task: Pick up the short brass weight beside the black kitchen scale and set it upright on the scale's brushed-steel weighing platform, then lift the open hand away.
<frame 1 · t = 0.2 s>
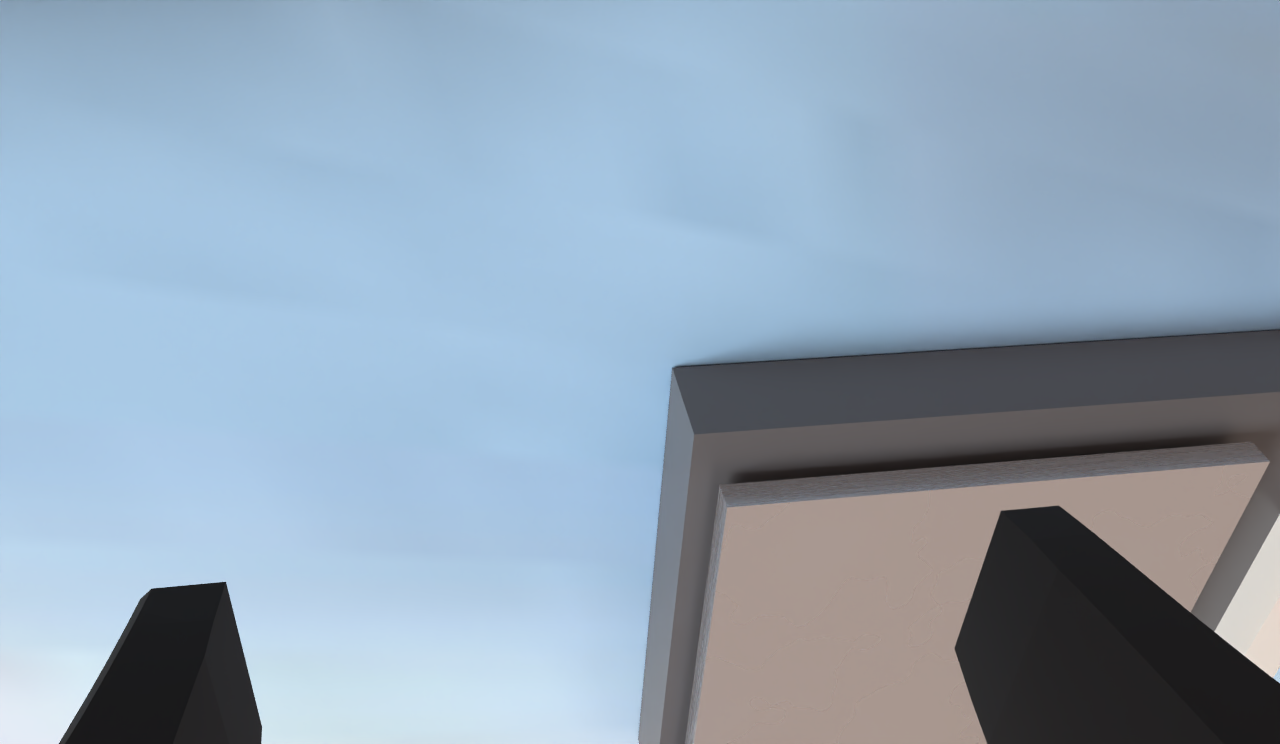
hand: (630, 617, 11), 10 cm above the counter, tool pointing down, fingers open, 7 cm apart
scale: (962, 550, 27), on the counter
weighing platform: (946, 643, 24), point 3 cm above the counter, slide at -0.3 cm
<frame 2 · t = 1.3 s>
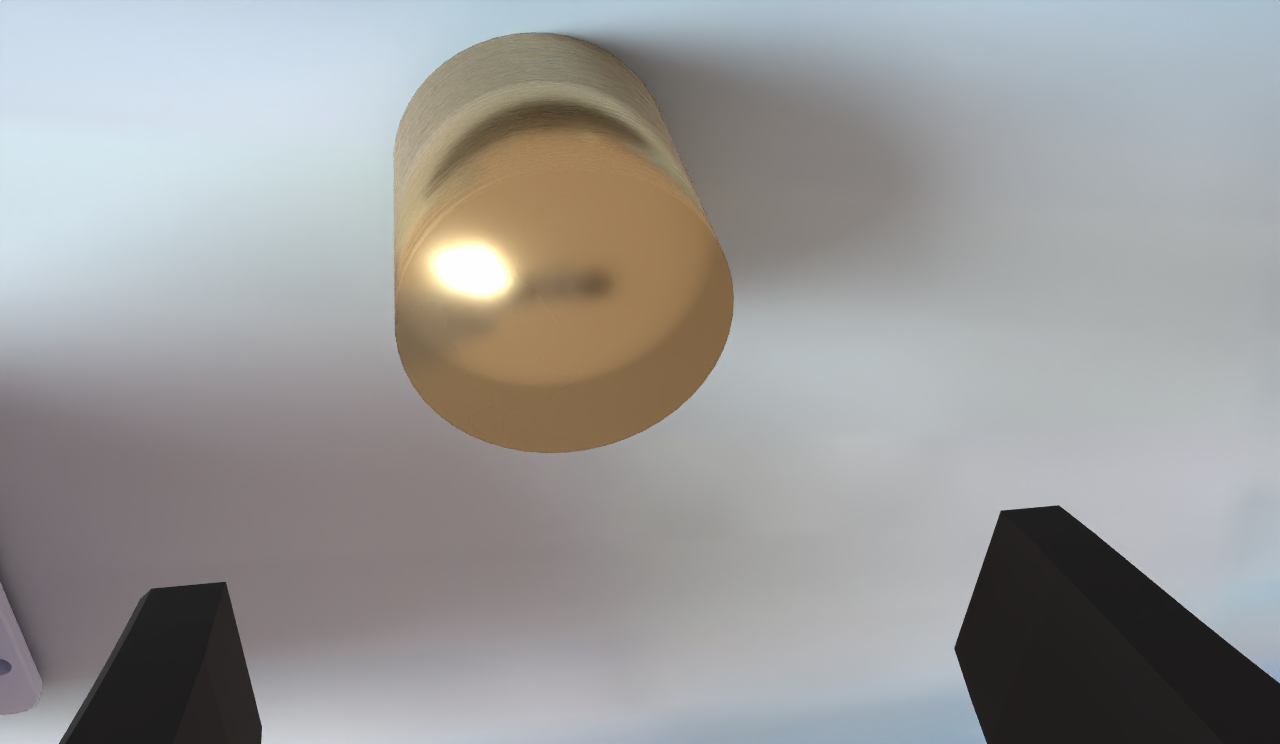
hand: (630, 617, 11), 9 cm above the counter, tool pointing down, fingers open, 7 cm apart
brass weight: (533, 166, 18), on the counter
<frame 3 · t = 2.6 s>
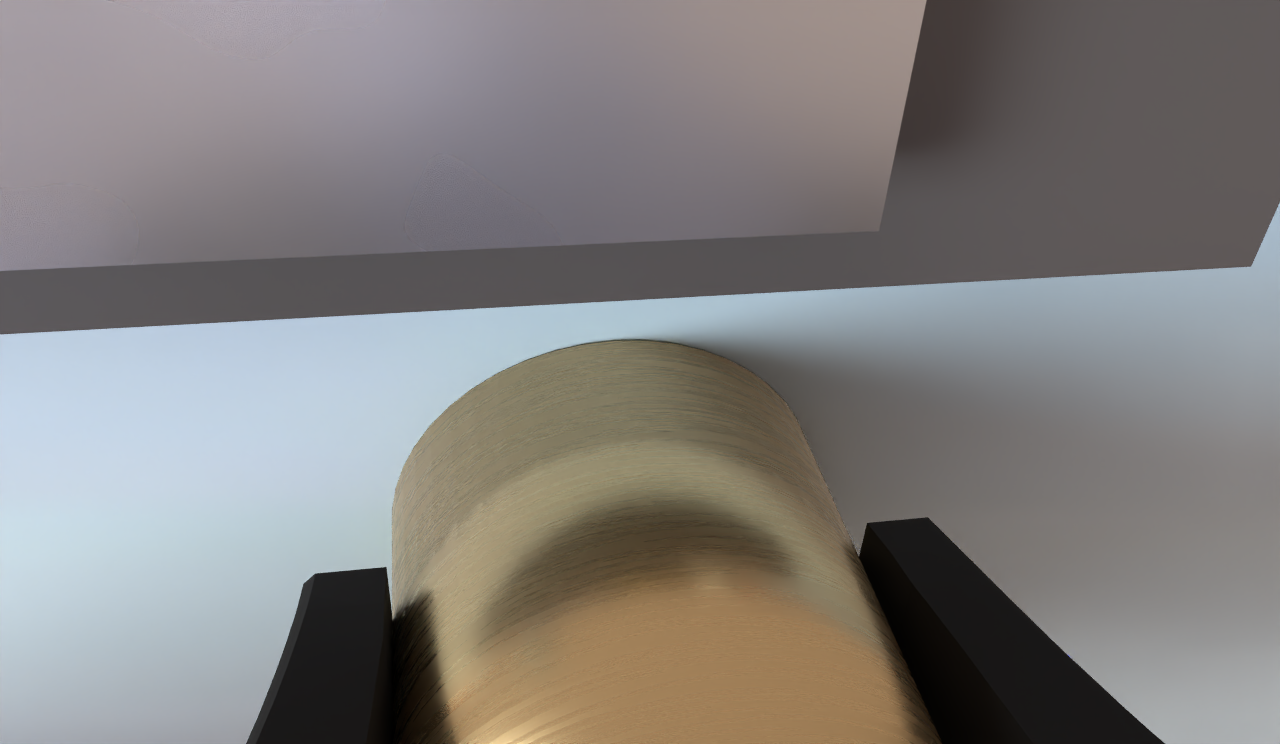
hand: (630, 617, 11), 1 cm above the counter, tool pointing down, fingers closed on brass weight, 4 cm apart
brass weight: (607, 512, 12), on the counter, touching gripper
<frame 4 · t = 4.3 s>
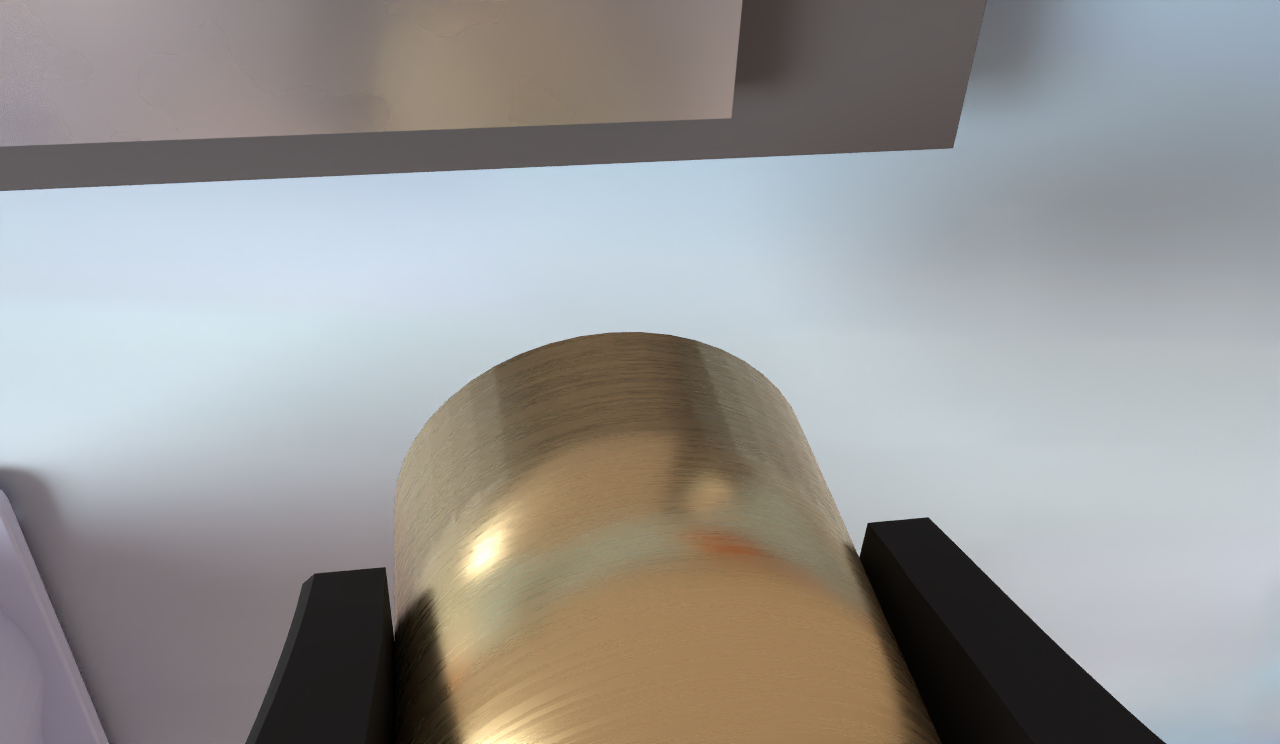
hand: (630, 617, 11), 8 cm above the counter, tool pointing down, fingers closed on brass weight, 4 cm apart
brass weight: (606, 502, 12), point 7 cm above the counter, touching gripper
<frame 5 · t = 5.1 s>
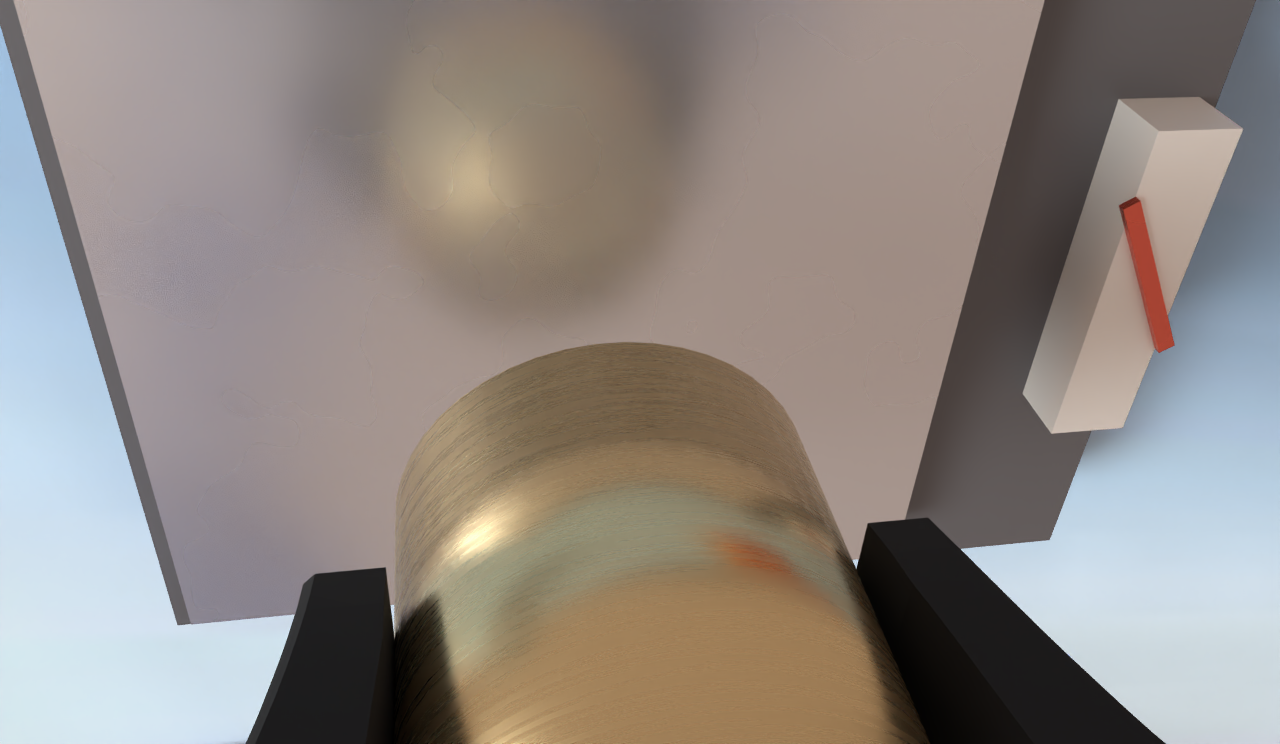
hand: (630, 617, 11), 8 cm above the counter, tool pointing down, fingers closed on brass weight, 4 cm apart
scale: (640, 209, 17), on the counter
weighing platform: (563, 310, 15), point 3 cm above the counter, slide at -0.3 cm
brass weight: (605, 509, 12), point 6 cm above the counter, touching gripper
when the fingers open (6 cm above the counter, at t = 5.9 s): brass weight drops 2 cm, resting on weighing platform.
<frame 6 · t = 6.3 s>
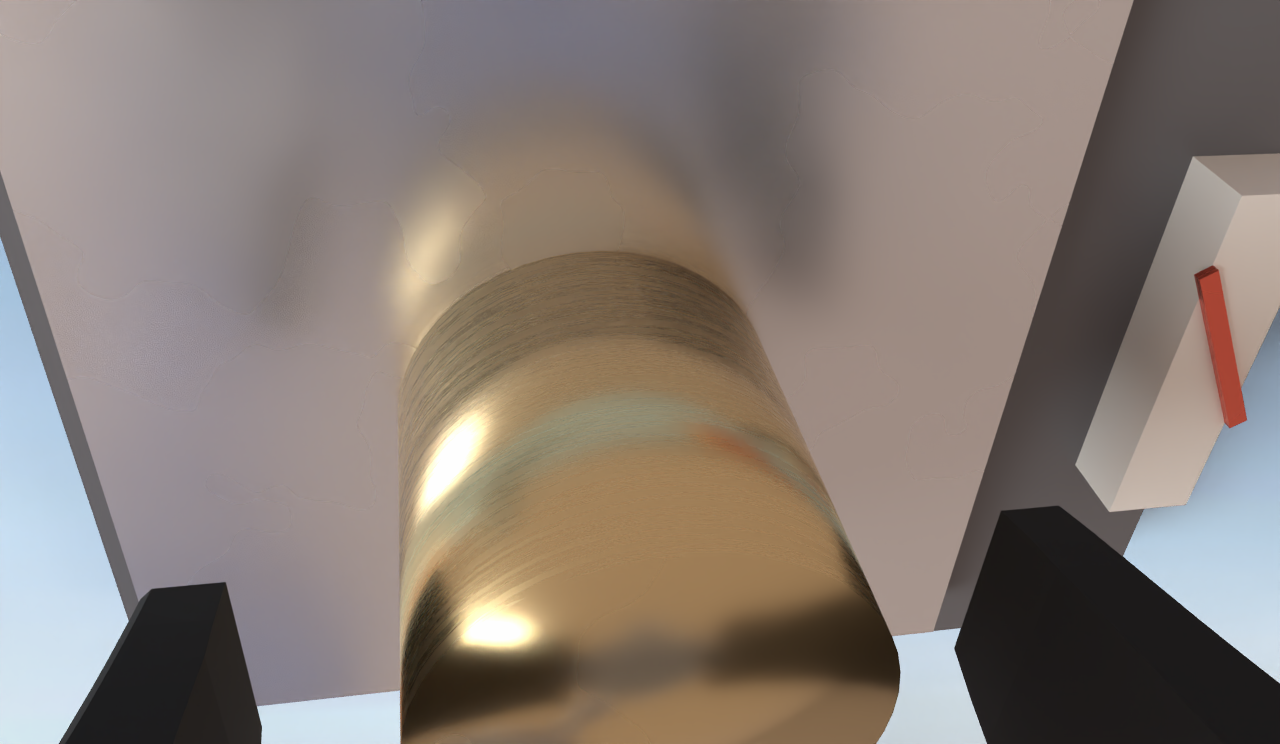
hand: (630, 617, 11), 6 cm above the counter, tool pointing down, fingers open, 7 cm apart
scale: (663, 269, 16), on the counter
weighing platform: (580, 384, 13), point 2 cm above the counter, slide at -0.4 cm, touching brass weight
brass weight: (587, 410, 13), point 3 cm above the counter, touching weighing platform
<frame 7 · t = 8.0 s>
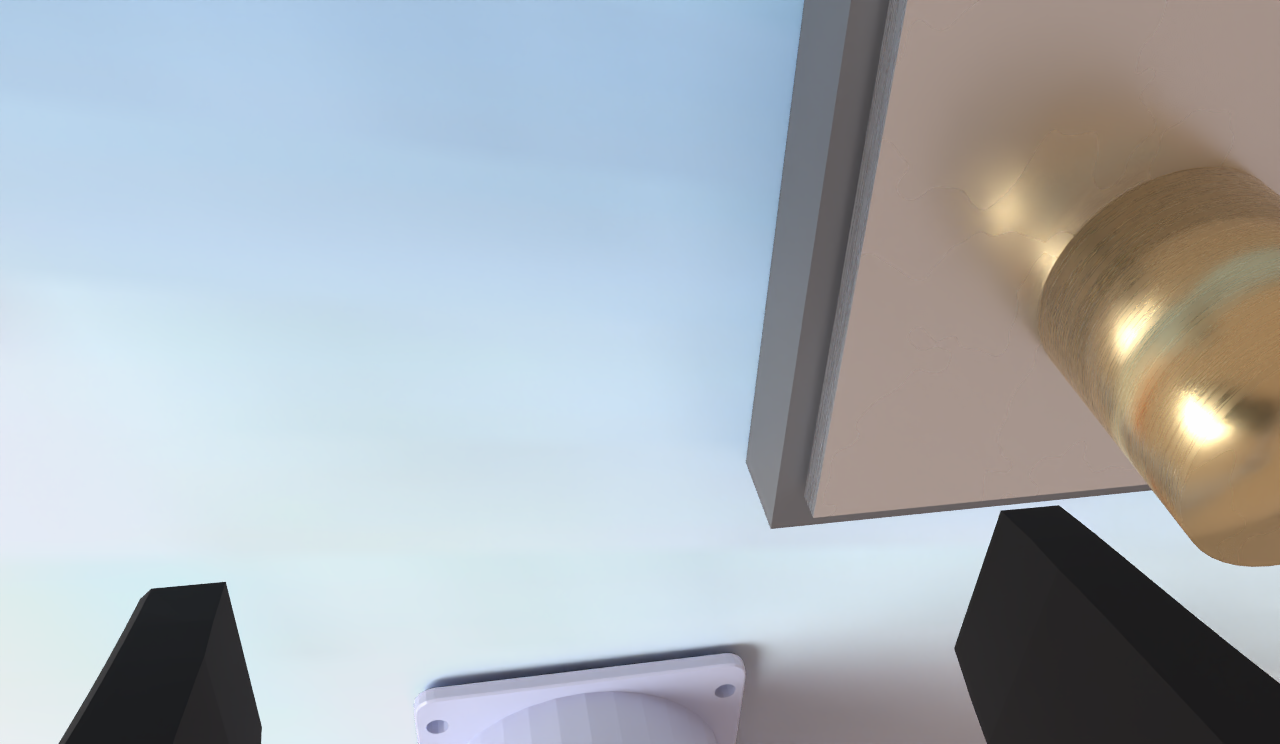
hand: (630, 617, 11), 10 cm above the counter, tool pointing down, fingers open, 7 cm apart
scale: (1154, 193, 21), on the counter
weighing platform: (1152, 266, 19), point 2 cm above the counter, slide at -0.4 cm, touching brass weight
brass weight: (1160, 283, 19), point 3 cm above the counter, touching weighing platform
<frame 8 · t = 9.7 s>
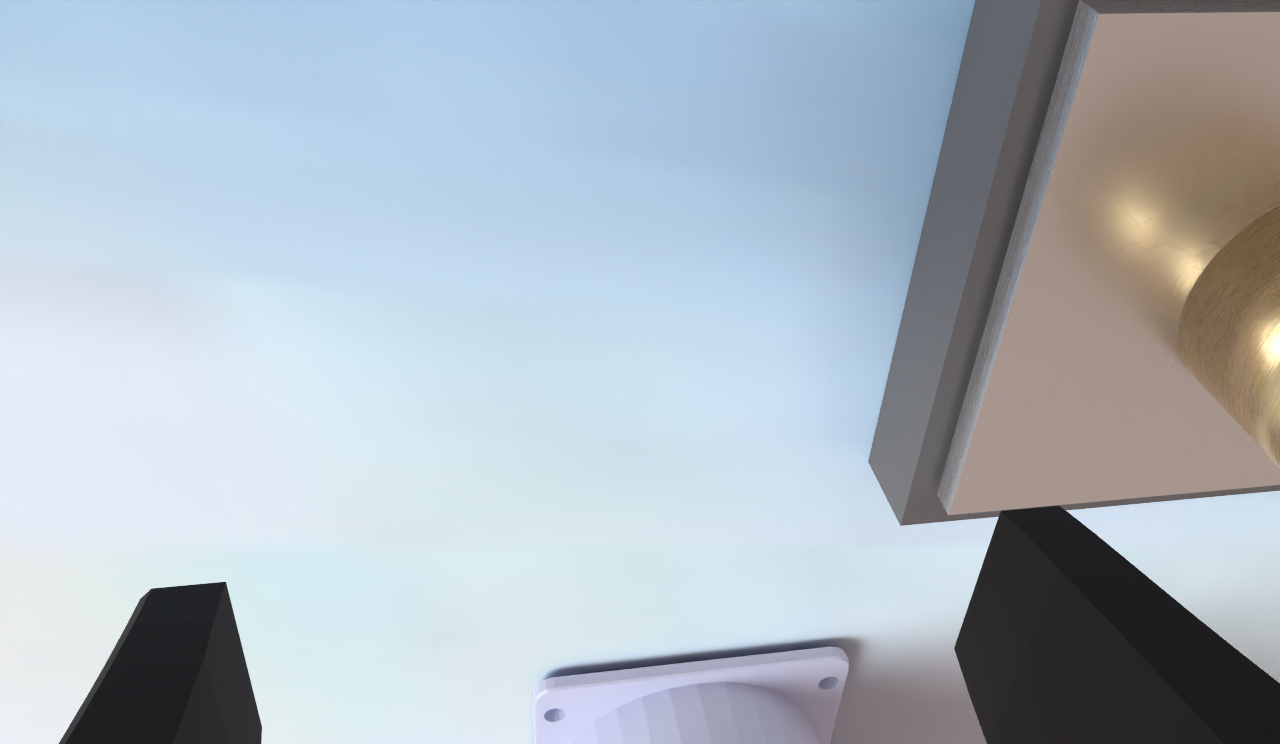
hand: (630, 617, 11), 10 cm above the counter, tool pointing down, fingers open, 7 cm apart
scale: (1275, 208, 22), on the counter
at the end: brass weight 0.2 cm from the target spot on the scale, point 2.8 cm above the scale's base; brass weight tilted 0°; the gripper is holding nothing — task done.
